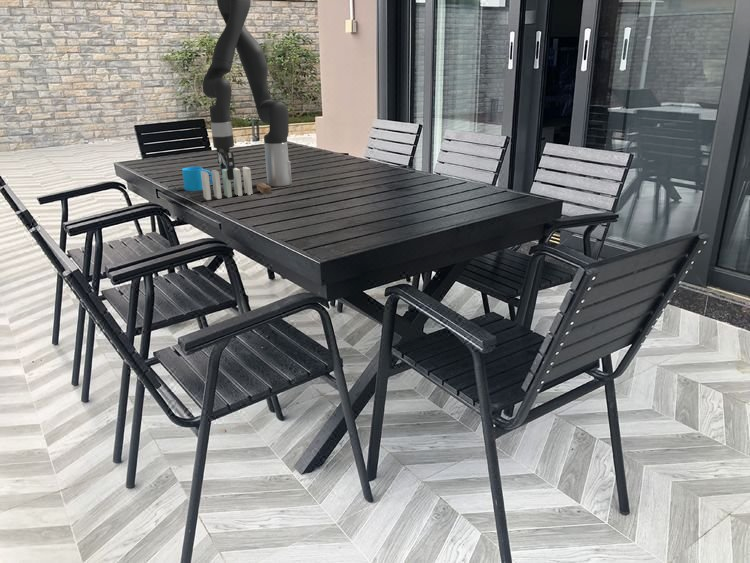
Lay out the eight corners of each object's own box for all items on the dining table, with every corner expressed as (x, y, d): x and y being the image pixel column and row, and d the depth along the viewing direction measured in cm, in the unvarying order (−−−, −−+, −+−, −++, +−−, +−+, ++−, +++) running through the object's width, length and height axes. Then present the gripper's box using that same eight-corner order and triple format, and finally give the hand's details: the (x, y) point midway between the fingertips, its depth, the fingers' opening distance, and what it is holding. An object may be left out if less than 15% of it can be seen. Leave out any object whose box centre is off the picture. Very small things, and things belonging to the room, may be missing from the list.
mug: (186, 191, 244) (183, 171, 241) (182, 188, 251) (180, 168, 248) (216, 188, 249) (214, 168, 246) (212, 184, 256) (210, 165, 253)
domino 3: (228, 194, 237) (225, 168, 234) (232, 197, 233) (229, 170, 230) (224, 195, 237) (221, 169, 233) (228, 197, 233) (225, 171, 229)
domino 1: (207, 197, 234) (204, 170, 230) (211, 199, 230) (208, 172, 226) (203, 197, 233) (200, 171, 230) (207, 200, 229) (203, 173, 226)
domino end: (248, 192, 241) (246, 166, 237) (252, 194, 237) (250, 168, 233) (244, 192, 240) (242, 167, 237) (248, 195, 236) (246, 169, 233)
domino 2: (218, 195, 236) (215, 169, 232) (221, 198, 232) (219, 171, 228) (214, 196, 235) (211, 170, 231) (217, 198, 231) (214, 172, 227)
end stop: (264, 189, 246) (263, 183, 245) (271, 193, 238) (271, 186, 237) (256, 190, 244) (256, 183, 243) (264, 194, 237) (263, 187, 236)
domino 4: (238, 193, 239) (236, 167, 236) (242, 195, 235) (240, 169, 231) (234, 193, 238) (232, 168, 235) (238, 196, 234) (235, 170, 231)
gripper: (238, 135, 223) (243, 179, 228) (227, 131, 234) (232, 173, 240) (217, 137, 219) (223, 182, 225) (207, 133, 231) (213, 176, 237)
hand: (227, 177), depth 233 cm, fingers open, 8 cm apart
